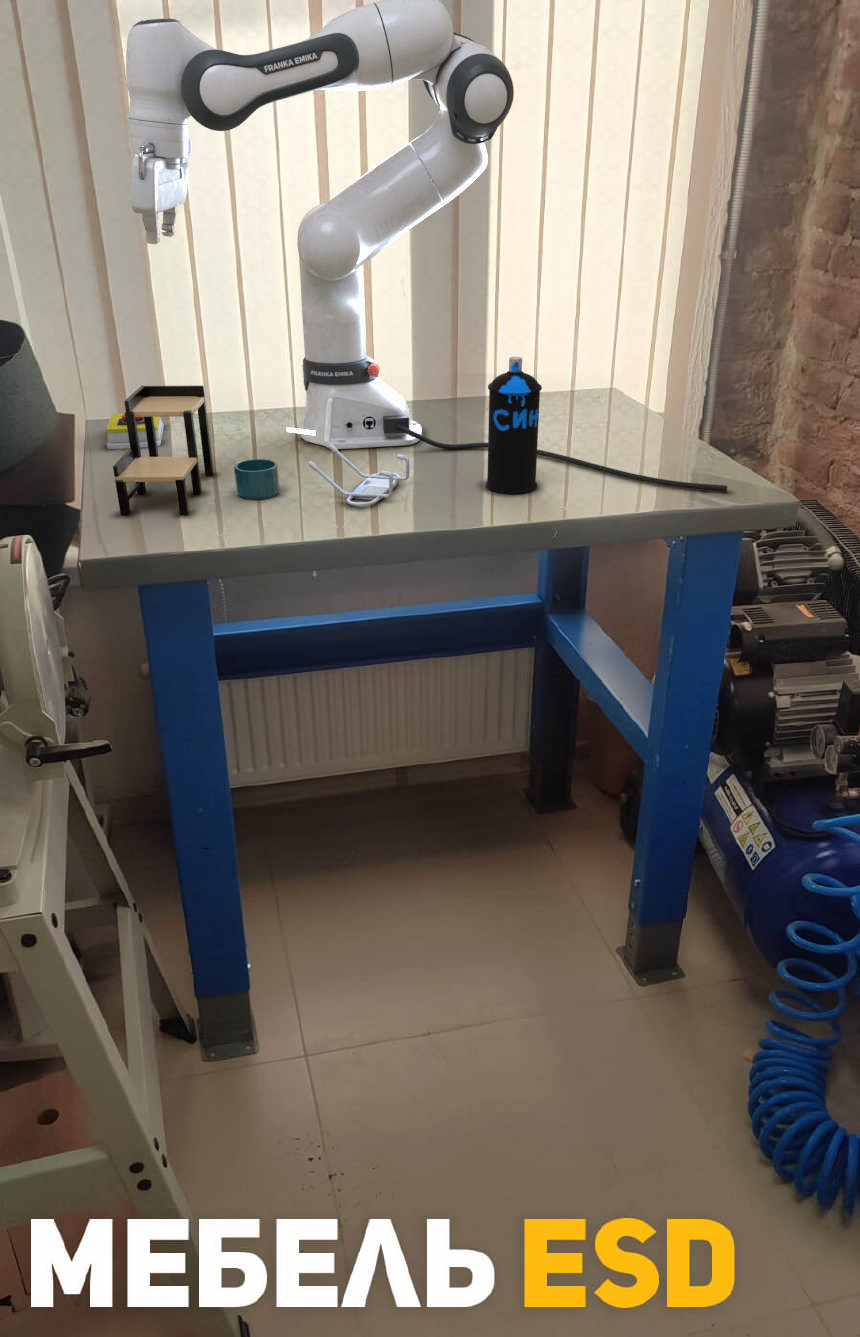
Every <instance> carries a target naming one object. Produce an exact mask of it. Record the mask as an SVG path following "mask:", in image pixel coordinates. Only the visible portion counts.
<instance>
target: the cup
mask: <svg viewBox="0 0 860 1337" xmlns="http://www.w3.org/2000/svg"><path fill="white" fill-rule="evenodd" d="M233 470H234V481H235V490H236V493H237V494H238V495H239V496H240V497H241V498H242V499H245V500H253V501H255V500H256V501H259V500H266V499H270V498H273V497H275V496H276V495H277V494H278V492H280V490H281V489H280V488H281V487H280V477H279V476H280V475H279V463H278V462H276V461H275V460H272V459H268V458H253V459H245V460H242V461H239V462H237V463H235V464H234V466H233Z"/></svg>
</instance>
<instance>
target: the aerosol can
mask: <svg viewBox="0 0 860 1337" xmlns="http://www.w3.org/2000/svg"><path fill="white" fill-rule="evenodd" d="M487 389H488V390H489V391H488V392H489V393H488V401H489V402H488V434H487V436H488V438H487V443H488V448H487V474H486V475H487V479H486V482H485V487H486V489H488V491H491V492H493V493H498V494H504V495H521V494H522V495H523V494H528V493H530V492H533V491H534V490H536V489H537V488H538V483H537V482H536V481H537V464H538V462H537V461H538V455H537V449H538V444H539V443H538V442H539V441H538V439H539V422H540V421H539V418H540V417H539V416H540V400H541V398H540V397H541V391H542V389H543V386H542V385H541V384H540V383H539V382H538V380H537V379H536V378H535V377H534V376H532V375H531V374H529V373H527V372H524V371H523V357H522V356H509V358H508V370H507V371H506V372H503V373H501V374H499V375H497V376H496V377H495V378H493V380H492V381H491V382H490V383H489V384H488V385H487Z"/></svg>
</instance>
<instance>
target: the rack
mask: <svg viewBox="0 0 860 1337" xmlns="http://www.w3.org/2000/svg"><path fill="white" fill-rule="evenodd" d="M206 402H207V401H206V393H205V385H140V386H139V387H138V388H137V389H136V390H135V391H134V392H133V393H131V394H130V395H129V396H128V397H127V398H126V399H125V400H124V409H125V417H126V423H127V430H128V437H129V443H130V448H128V450H127V451H126V452H125V453H124V454H123V455H122V456H120V458H119V459H118V460H117V461H116V462H115V463H114V464H113V465H112V470H113V476H114V483H115V489H116V494H117V501H118V507H119V508H118V509H119V513H120V514H119V515H120V516H123V517H129V516H130V515H131V513H132V511H131V506H130V501H131V499H132V498H133V497H134V495H135V494H136V495H137V496H145V495H146V494H147V486H146V485H147V484H146V483H175V490H176V497H177V505H178V513H179V516H182V517H183V516H187V517H188V515H189V514H190V506H189V499H188V492H187V484H186V479H187V477H188V476H189V474H190V481H191V487H192V495H193V496H201V495H202V494H203V488H202V480H201V471H200V470H201V469H200V463H199V455H198V447H197V446H198V445H197V439H196V429H195V422H194V415H195V414H196V412H197V415H198V416H197V418H198V425H199V434H200V443H201V451H202V460H203V467H204V468H203V469H204V477H213V476H214V475H215V473H214V463H213V455H212V454H213V453H212V445H211V436H210V427H209V420H208V419H209V418H208V410H207V403H206ZM136 417H144V422H145V429H146V436H147V443H148V447H147V450H148V456H142V452H141V448H140V444H139V438H138V431H137V424H136ZM153 417H162V418H163V417H169V418H170V417H183V424H184V432H185V439H186V440H185V441H186V448H187V456H159V449H158V446H157V442H156V435H155V427H154V420H153ZM127 483H134V484H133V485H132V486H131V487H130V489H128V488H127Z"/></svg>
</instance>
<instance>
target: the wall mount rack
mask: <svg viewBox="0 0 860 1337" xmlns="http://www.w3.org/2000/svg"><path fill="white" fill-rule="evenodd" d="M328 449H329V450H330V451H331V452H332V453H334V454H336V455H337V456H338V457H339V458H340V459H341V460H342V461H344V462H345V463H346V464H347V465H348V466H349V467H350V468H351V469H352V470H353V471H355V472H356V473H357V474H358V476H360V477H361V478H364V480H363V481H362V482H361V483H360V484H359V485H358V486H357V487H356V488H355V489H353V491H352V492H350V491H345V490H344V489H343V488H341V487H340V486H339V485H338V484H337V483H336V482H334V481H333V480H332V479H331V478H330V477H329V476H328V475H326V474H325V472H323V471H322V470H321V469H320V468H319V467H318V466H317V464H315V463H314V462H313V461H312V460H310V461H308V462H307V465H308V467H309V468H310V469H312V470H313V471H314V472H316V473H318V474H319V475H320V476H321V477H322V478H324V480H325V481H327V483H329V484H330V485H331V486H332V487H333V488H335V489H336V490H337V491H338V492H339V493H340V494H342V495H344V496H347V498H346V503H347V504H348V505H350V506H354V507H366V506H371V505H375V504H376V503H378V502H379V501H380V500H383V499H388V498H391V497H392V496H393V493H394V492H393V491H394V490H393V489H394V488H395V487H396V486H397V485H398V482H399V481H407V480H408V479H409V478H410V459H409V457H408V456H406V454H401V453H398V454H397V455H396V458H397V459H398V460H402V461H405V476H400V474H398V473H396V472H390V471H388V470H383V469H381V470H380V471H379V472H376V473H373V474H365V473H363V472H362V470H360V469H359V468H357V467H356V466H355V465H354V464H353V463H352V462H351V461H350V460H349V459H348V458H347V457H346V456H345V455H344V454H342V453H341V451H339V449H337V448H336V447H335V446H333V445H332V444H330V445H329V448H328ZM352 499H356V500H367V501H364V502H361V501H360V502H357V501H352Z"/></svg>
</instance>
